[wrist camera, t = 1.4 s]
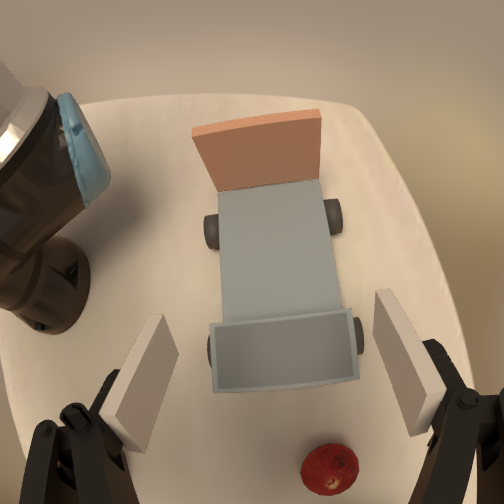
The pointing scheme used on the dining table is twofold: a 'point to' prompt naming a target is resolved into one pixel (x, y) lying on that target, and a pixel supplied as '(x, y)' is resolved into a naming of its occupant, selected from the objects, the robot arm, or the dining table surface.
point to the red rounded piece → (330, 469)
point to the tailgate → (261, 149)
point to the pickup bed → (279, 292)
